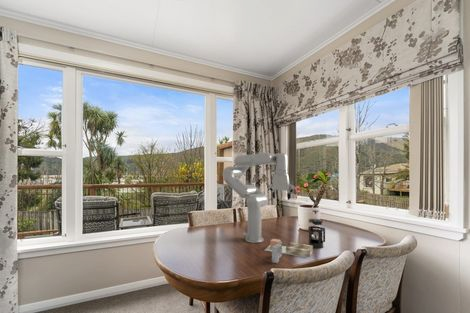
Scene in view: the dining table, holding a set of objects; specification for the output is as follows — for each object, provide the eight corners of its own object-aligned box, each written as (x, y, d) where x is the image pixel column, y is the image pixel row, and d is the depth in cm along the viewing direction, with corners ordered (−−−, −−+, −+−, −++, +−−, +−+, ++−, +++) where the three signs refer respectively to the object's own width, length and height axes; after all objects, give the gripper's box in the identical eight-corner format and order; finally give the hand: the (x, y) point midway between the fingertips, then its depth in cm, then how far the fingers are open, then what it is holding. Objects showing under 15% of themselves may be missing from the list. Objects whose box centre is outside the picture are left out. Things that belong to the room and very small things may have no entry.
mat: (264, 250, 144) (264, 250, 144) (270, 244, 155) (270, 244, 155) (309, 258, 132) (309, 258, 132) (313, 251, 143) (313, 250, 143)
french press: (312, 249, 146) (312, 212, 148) (304, 244, 156) (304, 209, 157) (328, 248, 149) (328, 211, 150) (320, 243, 158) (319, 209, 159)
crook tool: (271, 262, 126) (272, 247, 126) (278, 255, 137) (278, 241, 137) (277, 263, 125) (277, 247, 125) (283, 256, 135) (283, 241, 136)
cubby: (286, 253, 139) (286, 247, 139) (290, 247, 148) (290, 242, 148) (309, 257, 133) (309, 250, 133) (312, 251, 142) (312, 245, 142)
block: (270, 249, 146) (270, 240, 146) (272, 246, 150) (272, 238, 150) (278, 250, 143) (278, 241, 144) (280, 247, 148) (280, 239, 148)
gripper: (266, 172, 154) (266, 198, 154) (293, 172, 147) (293, 200, 146) (270, 172, 161) (270, 197, 160) (296, 172, 153) (296, 199, 152)
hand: (281, 198), depth 153 cm, fingers open, 9 cm apart
